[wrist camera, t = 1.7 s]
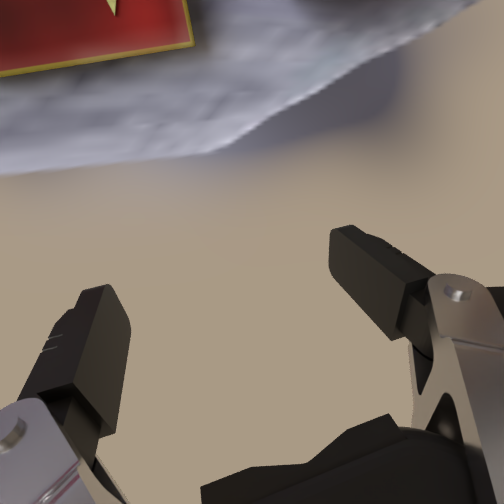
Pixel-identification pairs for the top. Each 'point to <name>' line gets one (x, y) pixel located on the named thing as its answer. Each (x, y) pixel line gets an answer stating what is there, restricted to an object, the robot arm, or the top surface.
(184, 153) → the top surface
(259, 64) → the top surface
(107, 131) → the top surface
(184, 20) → the hardcover book
